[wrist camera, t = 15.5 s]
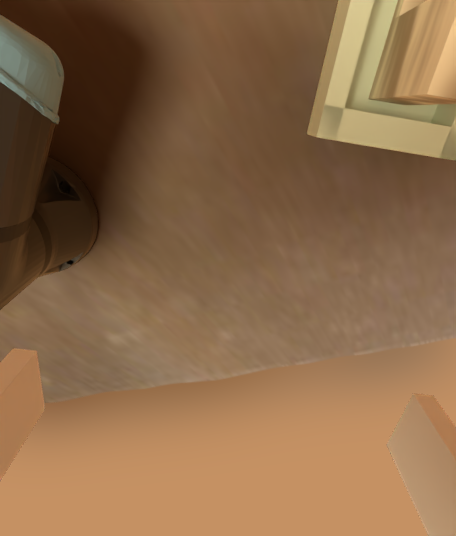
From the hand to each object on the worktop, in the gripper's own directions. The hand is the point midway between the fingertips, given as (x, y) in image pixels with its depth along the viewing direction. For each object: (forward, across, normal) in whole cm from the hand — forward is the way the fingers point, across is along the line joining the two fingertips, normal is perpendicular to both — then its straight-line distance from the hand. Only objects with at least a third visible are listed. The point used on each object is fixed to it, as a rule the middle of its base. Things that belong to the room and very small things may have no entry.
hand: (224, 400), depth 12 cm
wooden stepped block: (+31, +15, +17) cm, 39 cm away
